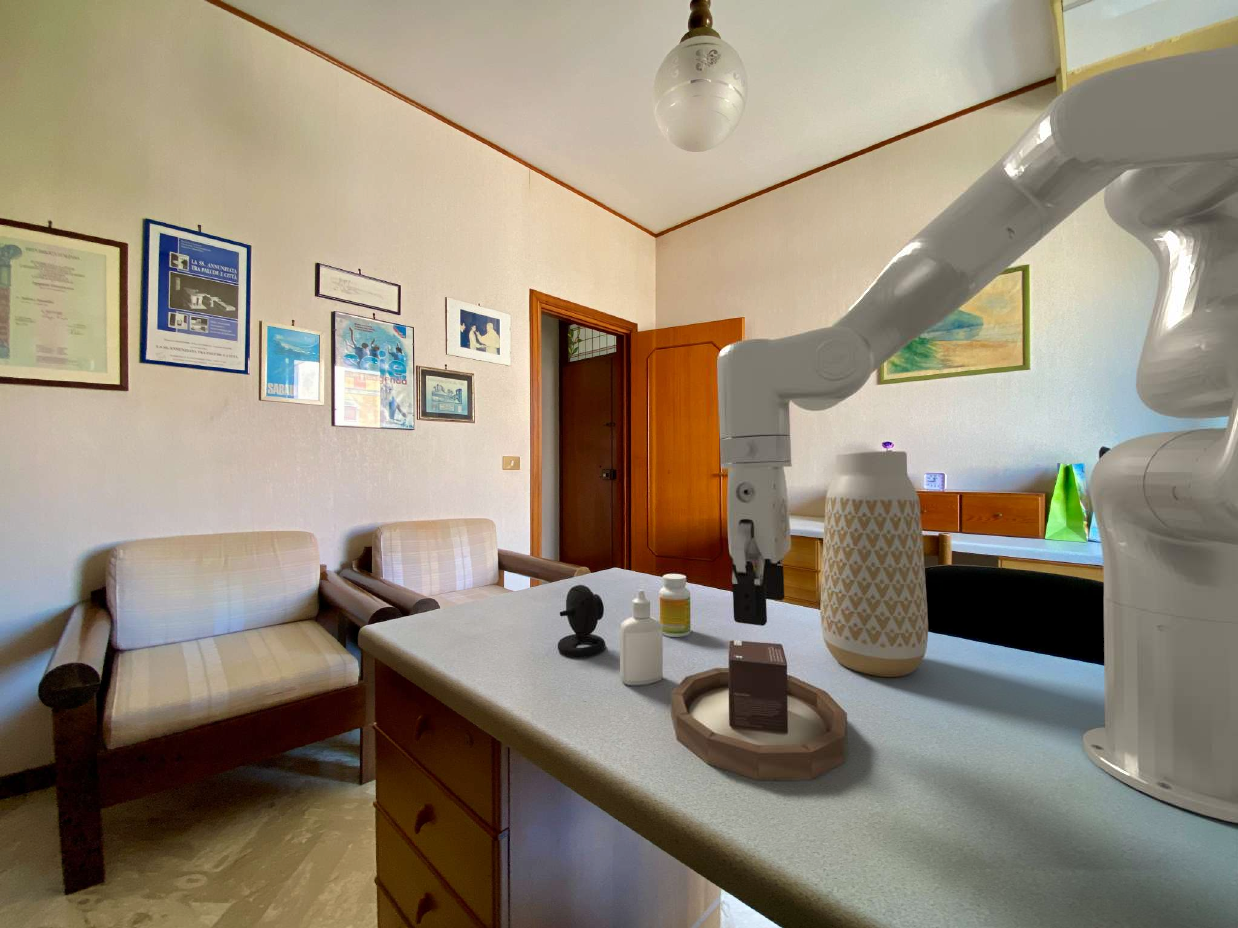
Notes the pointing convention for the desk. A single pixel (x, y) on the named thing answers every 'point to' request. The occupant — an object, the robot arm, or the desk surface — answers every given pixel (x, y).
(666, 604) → the supplement bottle
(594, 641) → the webcam
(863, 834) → the desk surface
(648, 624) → the eye dropper bottle
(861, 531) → the vase
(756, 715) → the box
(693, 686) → the round tray
